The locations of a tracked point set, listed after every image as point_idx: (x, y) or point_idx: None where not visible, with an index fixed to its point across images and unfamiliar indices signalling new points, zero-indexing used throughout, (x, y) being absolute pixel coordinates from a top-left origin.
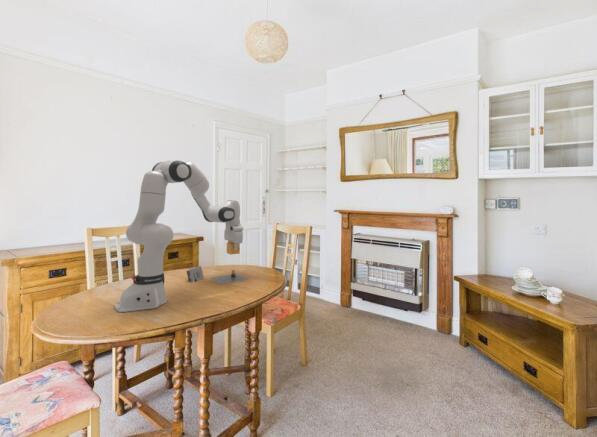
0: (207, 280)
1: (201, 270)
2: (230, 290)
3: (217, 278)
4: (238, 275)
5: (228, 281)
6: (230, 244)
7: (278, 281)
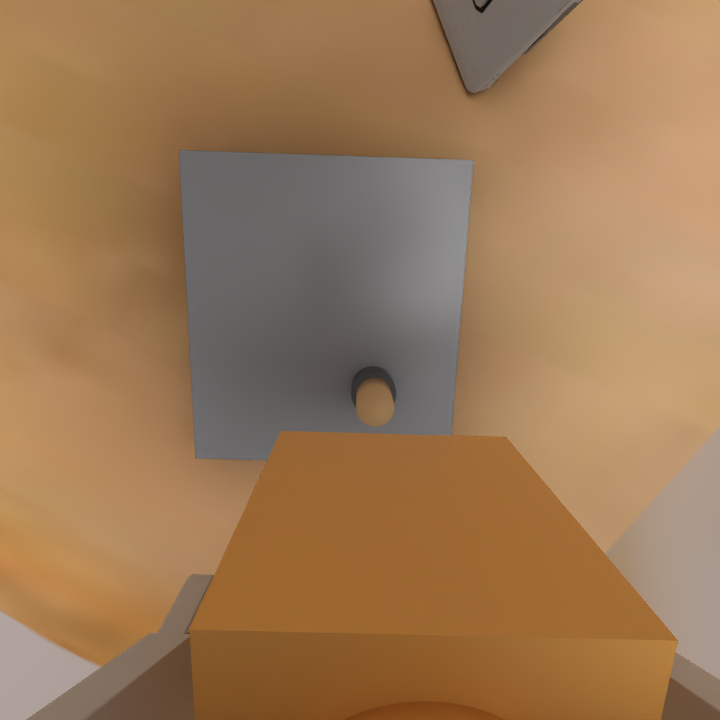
0: (477, 139)
1: (539, 6)
2: (26, 198)
3: (399, 220)
4: None
5: (227, 271)
6: (202, 611)
7: (95, 645)
